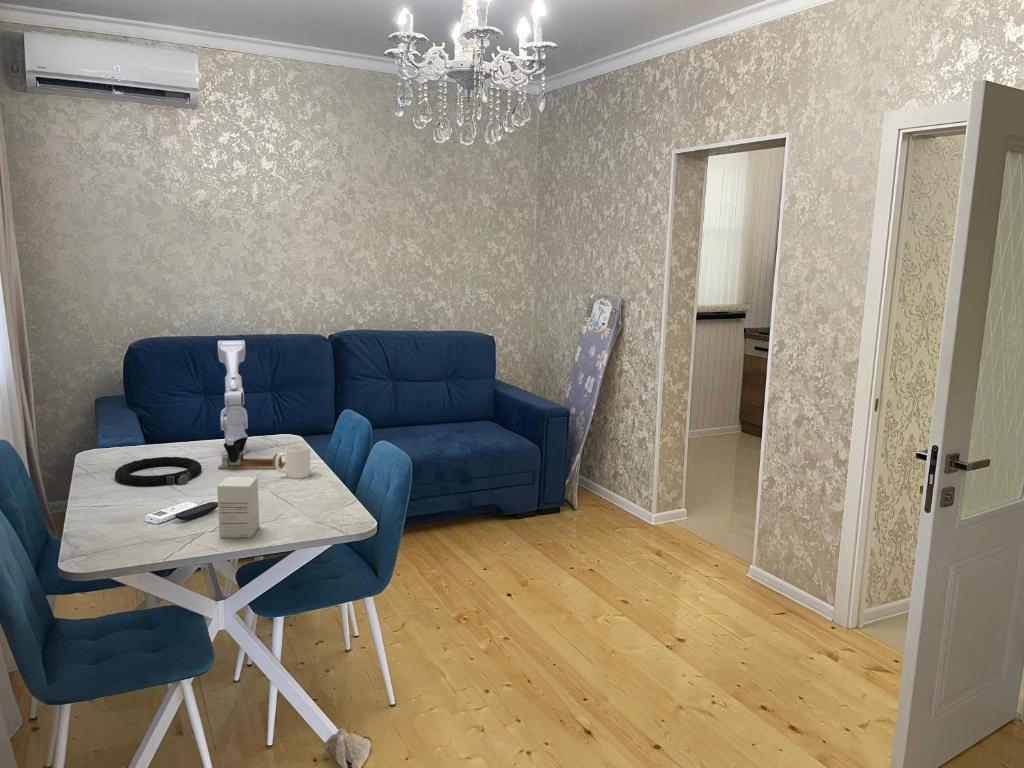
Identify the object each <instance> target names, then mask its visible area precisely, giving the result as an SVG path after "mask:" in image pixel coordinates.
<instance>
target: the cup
mask: <svg viewBox="0 0 1024 768" xmlns="http://www.w3.org/2000/svg"><path fill="white" fill-rule="evenodd" d="M277 454H278V455H277V457H276V461H275V466H276V469H277V470H276V471H277V472H279V473H282V474H285V475H286V477H287V478H289V479H294V480H295V479H297V480H298V479H300V480H301V479H305V478H308V477H309V476H311V447H310V446H309V445H305V444H294V445H293V444H292V445H288V446H286V447H285V452H280V453H277ZM281 456H282V457H285V468H284V469H283V468H281V469H280V468H279V465H278V462H279V458H280V457H281Z"/></svg>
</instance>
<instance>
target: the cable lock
mask: <svg viewBox="0 0 1024 768" xmlns="http://www.w3.org/2000/svg"><path fill="white" fill-rule="evenodd" d="M157 467H178V468H179V467H182V468H186V469H185V470H181V471H177V472H173V473H165V474H159V475H158V474H156V475H137V474H131V473H133V472H136V471H141V470H144V469H149V468H150V469H151V468H152V469H153V468H157ZM202 468H203V467H202V464H201V463H200V462H199V461H197V460H196V459H192V458H189V457H181V456H162V457H161V456H160V457H151V458H149V457H148V458H142V459H139V460H134V461H130V462H127V463H125V464H122V465H121V466H119V467H118V468H117V470H115V472H114V473H115V474H114V477H115V480H116V481H118V482H119V483H122V484H124V485H128V486H134V487H135V486H136V487H155V486H163V485H165V486H166V485H167V486H171V485H173V486H174V485H177V486H179V485H180V486H183V485H186V484H188V483H189V481H190V480H191V479H193V478H195V477H198V476H199V474H200V473H202Z"/></svg>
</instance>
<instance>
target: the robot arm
mask: <svg viewBox="0 0 1024 768" xmlns="http://www.w3.org/2000/svg"><path fill="white" fill-rule="evenodd" d="M217 355H218V360H219V362H220V363H222V364H224V366H225V368H226V376H225V377H224V383H225V385H224V387H225V388H224V389H225V393H224V405H225V407H224V408H223V409H222V410H221V411H220V430H221V431H224V444H223V447H224V452H222V454H221V456H224V455H225V454H228V456H229V460H230V463H236V462H237V458H238V451H239V450H243V452H244V455H245V454H246V453H247V452H248V451H249V450H250V448H249V447H247V446H248V445H247V444H248V443H247V441H248V434H247V433H246V431H245V430H247V429H248V428H249V421H248V410H247V409H246V408H245V407H244V405H245V393H244V388H243V382H242V381H243V380H242V376H241V375H240V374H239V365H240V364H241V363H243V362H245V358H246V341H245V340H244V339H241V340H221V339H220V340H218V341H217Z"/></svg>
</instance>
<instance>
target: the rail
mask: <svg viewBox="0 0 1024 768" xmlns="http://www.w3.org/2000/svg"><path fill="white" fill-rule="evenodd" d="M278 454H279V453H275V454H274V456H273V457H272V458H244V459H241V466H229V456H228V454H225V455H222V457H221V464H220V465H219V467H217V470H275V471H278V470H277V469H276V466H275V461H276V457H277V455H278ZM282 457H283V456H281V457H280V458H279V462H278V465H279V468H280V469H283V467H284V466H286V461H283V460H282Z"/></svg>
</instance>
